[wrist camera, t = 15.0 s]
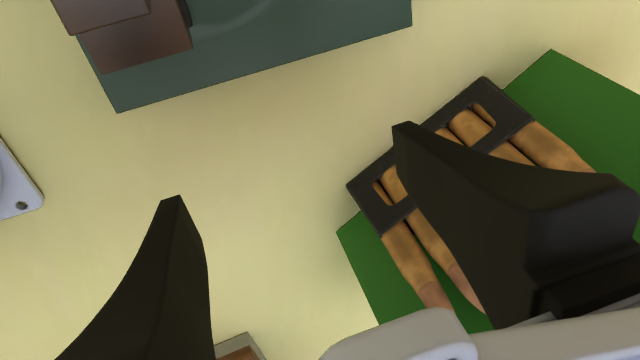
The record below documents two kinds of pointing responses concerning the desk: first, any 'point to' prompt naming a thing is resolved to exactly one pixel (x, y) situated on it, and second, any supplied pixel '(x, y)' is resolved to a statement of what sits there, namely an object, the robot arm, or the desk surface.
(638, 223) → the hardback book
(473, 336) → the robot arm
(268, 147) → the desk surface
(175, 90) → the desk board
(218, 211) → the desk surface
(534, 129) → the ammunition clip
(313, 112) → the desk surface
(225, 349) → the white tower
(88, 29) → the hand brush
